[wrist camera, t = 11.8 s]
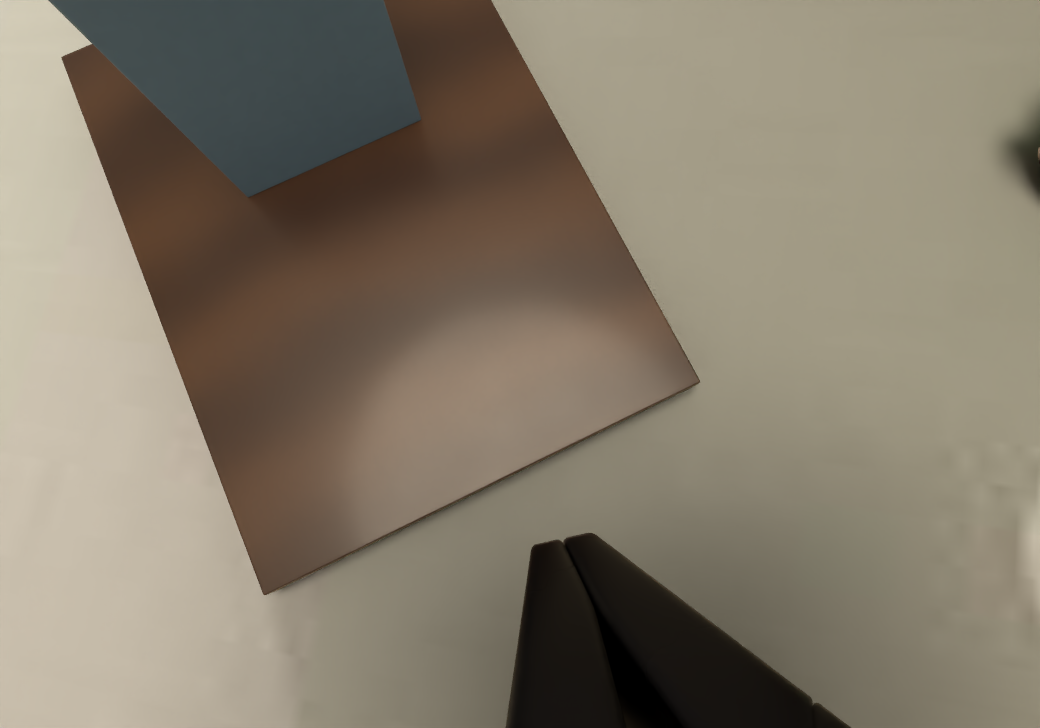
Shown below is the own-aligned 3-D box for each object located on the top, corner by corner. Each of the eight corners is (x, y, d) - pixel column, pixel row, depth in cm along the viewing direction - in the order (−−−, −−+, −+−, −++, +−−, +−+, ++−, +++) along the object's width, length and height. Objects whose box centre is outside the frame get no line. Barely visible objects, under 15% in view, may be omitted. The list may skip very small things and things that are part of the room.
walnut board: (692, 387, 22) (701, 382, 21) (278, 590, 21) (263, 596, 20) (439, -76, 26) (435, -103, 25) (82, 76, 25) (60, 56, 24)
